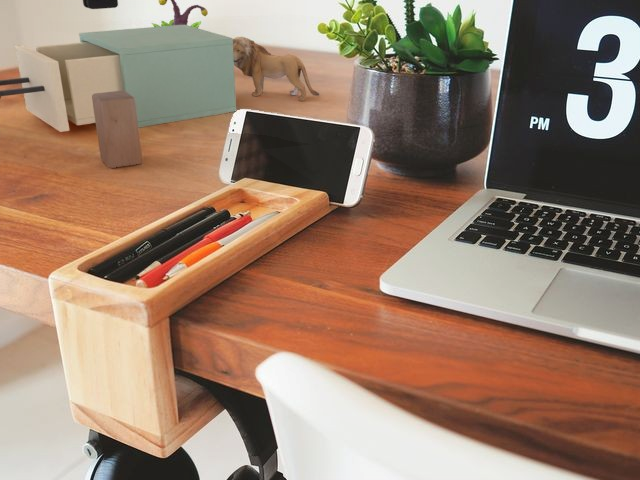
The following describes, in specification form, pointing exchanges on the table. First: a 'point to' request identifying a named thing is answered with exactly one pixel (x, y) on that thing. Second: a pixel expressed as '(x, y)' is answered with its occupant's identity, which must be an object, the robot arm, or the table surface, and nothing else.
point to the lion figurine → (268, 66)
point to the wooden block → (117, 128)
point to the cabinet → (173, 71)
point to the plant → (181, 18)
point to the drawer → (65, 81)
